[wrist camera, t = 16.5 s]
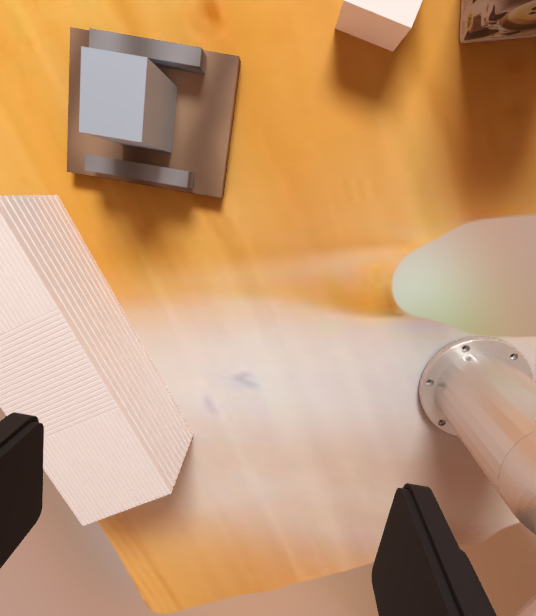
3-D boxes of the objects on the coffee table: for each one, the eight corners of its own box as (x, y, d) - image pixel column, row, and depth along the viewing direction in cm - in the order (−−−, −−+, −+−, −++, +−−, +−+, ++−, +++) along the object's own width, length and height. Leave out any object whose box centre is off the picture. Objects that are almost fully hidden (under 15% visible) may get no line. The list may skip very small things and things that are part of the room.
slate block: (177, 87, 39) (147, 57, 30) (171, 153, 41) (141, 142, 32) (126, 78, 39) (81, 46, 30) (122, 144, 41) (78, 131, 32)
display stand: (240, 61, 40) (235, 47, 36) (223, 197, 43) (217, 198, 39) (78, 33, 39) (55, 16, 36) (74, 172, 43) (53, 170, 39)
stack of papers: (193, 433, 51) (171, 493, 41) (122, 461, 53) (82, 526, 43) (58, 195, 44) (-11, 195, 34) (-21, 235, 46) (-110, 248, 35)
